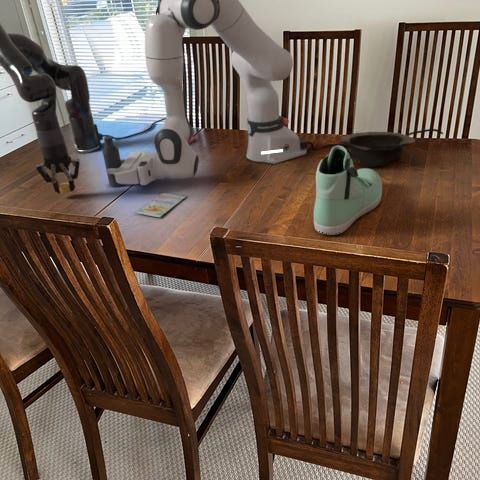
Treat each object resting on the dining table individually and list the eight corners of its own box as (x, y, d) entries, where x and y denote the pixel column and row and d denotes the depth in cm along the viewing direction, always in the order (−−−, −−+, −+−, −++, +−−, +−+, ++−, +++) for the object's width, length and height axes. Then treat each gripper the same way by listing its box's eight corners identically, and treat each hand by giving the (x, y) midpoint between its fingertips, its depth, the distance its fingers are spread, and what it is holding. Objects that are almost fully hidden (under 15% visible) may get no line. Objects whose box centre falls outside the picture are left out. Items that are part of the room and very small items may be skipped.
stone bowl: (372, 178, 154) (373, 150, 150) (326, 159, 175) (325, 135, 170) (429, 159, 163) (431, 132, 159) (379, 144, 183) (379, 120, 179)
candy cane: (162, 149, 191) (161, 146, 190) (186, 137, 201) (185, 134, 201) (173, 152, 188) (172, 148, 187) (197, 139, 198) (197, 136, 197)
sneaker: (389, 187, 148) (396, 123, 138) (356, 242, 123) (361, 168, 112) (346, 181, 154) (350, 119, 144) (306, 232, 129) (307, 161, 118)
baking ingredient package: (135, 211, 145) (163, 192, 156) (135, 213, 145) (163, 193, 156) (159, 216, 141) (186, 195, 153) (159, 217, 141) (186, 197, 153)
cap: (74, 189, 159) (72, 183, 157) (65, 194, 156) (63, 188, 155) (66, 187, 160) (64, 181, 159) (57, 192, 158) (55, 186, 157)
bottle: (125, 185, 164) (116, 138, 155) (110, 188, 163) (100, 141, 154) (124, 179, 168) (115, 133, 160) (108, 182, 167) (99, 136, 158)
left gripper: (26, 148, 145) (42, 199, 154) (74, 142, 147) (87, 193, 156) (30, 140, 152) (45, 189, 160) (76, 134, 153) (88, 183, 162)
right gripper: (157, 146, 168) (119, 147, 170) (140, 169, 151) (98, 170, 152) (159, 162, 171) (122, 163, 173) (144, 187, 154) (102, 188, 156)
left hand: (65, 191), depth 158 cm, fingers closed on cap, 3 cm apart
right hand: (111, 166), depth 162 cm, fingers closed on bottle, 5 cm apart
